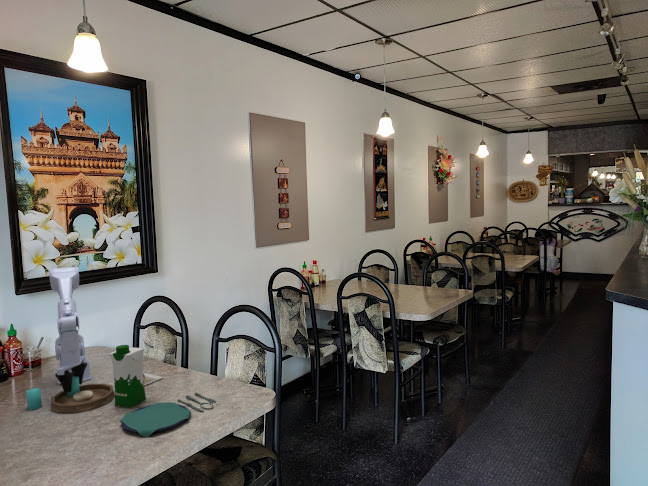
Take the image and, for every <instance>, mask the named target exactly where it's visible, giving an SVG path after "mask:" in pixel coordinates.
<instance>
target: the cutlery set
mask: <svg viewBox="0 0 648 486" xmlns="http://www.w3.org/2000/svg"><path fill="white" fill-rule="evenodd" d="M194 396H196V397H197V398H201V399H202V398H203V399H202V400H204V399H205V401H208V402H201V401H199V400H197V399H196V398H194V397H193V396H191V395H188V394H187V395H185V398H186V399H188V400H191V401H194V402H196V403H197V404H199V406H200V408H199V407H196V406H194V405H193V404H192V403H190V402H186V401H183V400H181V399H180V398H179V399H177V402H180V403H182V404H185V405H186V406H185V405H182V404H180V403H176V402H171V401H170V402H169V401H167V402H166V401H164V402H155V403H152V404H149V405H146V406H142V407H139V408H137V409H134V410H131V411H129V412H126V413H125V414H124V415H123V417H121V419H120V420H119V422H120V423H121V427H122V428H123V429H124V430H126V431H129V432H133V433H138V434H139V435H140V436H142V437H143V438H144V437H145V438H146V437H150V436H151V435H152V434H153V433H156V432H161V431H165V430H168V429H169V430H170V429H171V428H174V427H176V426H179V425H181V424H182V423H183V422H185V421H189V418H190V416H191V415H192V411H191V410H190V409H189V408H191V409H193V410H195V411H197V412H199V413H204V412H205V411H204V409H205V410H210V408H211V407H212V408H214V405H213V403H216V402H218V401H217V400H216V399H214V398H213V399H212V398H207V397H205V396H203V395H202V394H201V393H199V392H194ZM211 403H212V404H211ZM203 404H210V405H212V406H211V407H210V408H209V407H203V406H204V405H203ZM201 405H202V406H201ZM210 405H209V406H210ZM187 406H188V407H187ZM201 408H202V409H201ZM212 408H211V409H212Z"/></svg>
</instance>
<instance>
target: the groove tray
mask: <svg viewBox="0 0 648 486" xmlns="http://www.w3.org/2000/svg"><path fill="white" fill-rule="evenodd" d="M79 387H80V392H78V393H76V394H74V395H73V397H71V398H69V397H67V392H64V390H61V391H59V392H58V393H56V394H55V395H53V396H52V397H51V400H50V411H52V412H54V413H56V414H64V415H65V414H66V415H67V414H69V415H70V414H77V413H84V412H88V411H92V410H96V409H98V408H101V407H103V406H105V405H108V404H109V403H111V401H113V399H114V400H115V389H114V386H113V385H111V384H106V383H88V384H83V385H82V384H81V385H79Z"/></svg>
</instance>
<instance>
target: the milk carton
mask: <svg viewBox="0 0 648 486" xmlns="http://www.w3.org/2000/svg"><path fill="white" fill-rule="evenodd" d="M144 351H145V348H143V347H142V348H141V347H130V345H129V344H122V345H121V344H120V345H117V346H116V347H115V351H113V352H111V353H109V356H110V360H111V363H112V367H113V381H114V382H113V383H114V386H113V387H114V394H115V397H114V406H115V407H123V408H129V409H132V408H133V407H136V406H137V405H139V404H141V403H142V402H145V401H146V400H147V395H146V390H145V386H144V385H145V384H144V383H145V382H144V380H143V373H144V370H143V369H144V367H143V358H144V353H145V352H144Z"/></svg>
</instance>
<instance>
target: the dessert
mask: <svg viewBox="0 0 648 486" xmlns="http://www.w3.org/2000/svg"><path fill="white" fill-rule="evenodd" d="M146 377H148V378H151V379H154V380H152V381H150V382H148V383H146V382H147V378H146ZM163 378H164V376H159V375H156V374H151V373H146V372H143V380H144V383H145V384H144V387H145V386H148V385H149V384H152V383H154V382H157V381H160V380H162V379H163Z"/></svg>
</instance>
